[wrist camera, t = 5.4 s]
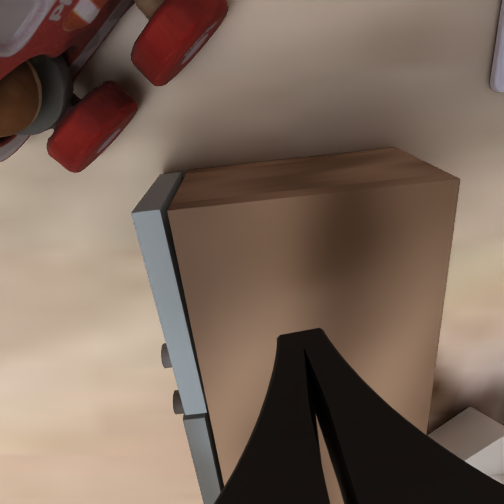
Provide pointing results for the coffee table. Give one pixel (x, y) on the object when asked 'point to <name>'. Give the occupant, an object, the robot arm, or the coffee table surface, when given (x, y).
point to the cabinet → (310, 284)
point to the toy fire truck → (73, 60)
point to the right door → (169, 290)
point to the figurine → (474, 441)
